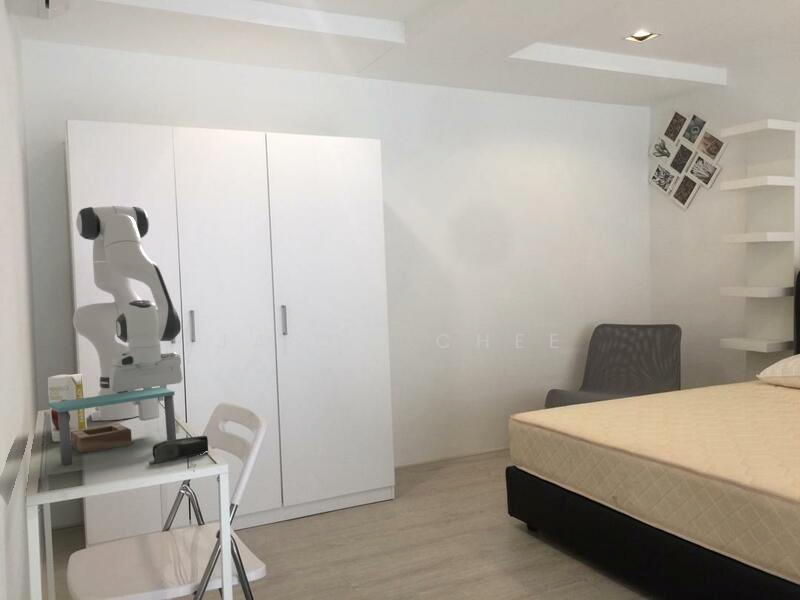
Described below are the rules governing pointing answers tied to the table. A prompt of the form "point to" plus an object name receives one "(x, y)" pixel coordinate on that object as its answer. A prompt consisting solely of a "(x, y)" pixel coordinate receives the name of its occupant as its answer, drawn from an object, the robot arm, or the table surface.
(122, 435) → the socket block
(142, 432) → the table surface
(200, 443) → the mobile phone
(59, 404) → the teal slab bridge
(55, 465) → the table surface
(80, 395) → the juice carton
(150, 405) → the eye dropper bottle
